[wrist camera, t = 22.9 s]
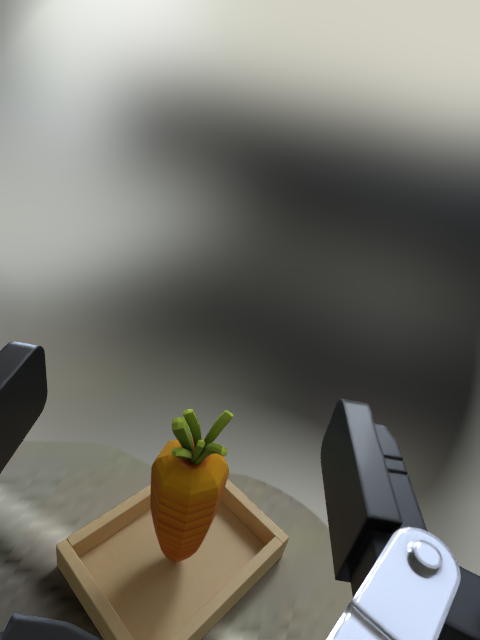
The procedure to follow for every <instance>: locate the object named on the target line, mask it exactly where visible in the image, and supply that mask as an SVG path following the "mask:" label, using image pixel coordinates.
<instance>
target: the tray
mask: <svg viewBox="0 0 480 640" xmlns="http://www.w3.org/2000/svg"><path fill="white" fill-rule="evenodd" d="M150 494H151V485H149V486H148V487H146V488H145V489H143V490H142V491H140V492H138V493H137V494H135V495H134V496H132V497H131V498H129V499H127V500H126V501H124V502H123V503H121V504H120V505H118V506H116V507H115V508H113V509H112V510H110V511H109V512H107V513H105V514H104V515H102V516H101V517H99V518H98V519H96V520H94V521H93V522H91V523H90V524H88V525H87V526H85V527H83V528H82V529H80V530H79V531H77V532H76V533H74V534H72V535H71V536H69V537H68V538H67V539H65V540H63V541H62V542H60V543H59V544H57V545H56V552H57V566H58V568H59V569H60V571H61V572H62V574H63V576H64V577H65V579H66V580H67V582H68V584H69V585H70V587H71V588H72V590H73V592H74V593H75V595H76V596H77V598H78V600H79V601H80V603H81V604H82V606H83V607H84V609H85V611H86V612H87V614H88V615H89V617H90V619H91V620H92V622H93V623H94V625H95V627H96V628H97V630H98V631H99V633H100V635H101V636H102V638H103V639H104V640H201V639H202V638H203V637H204V636H205V635H206V634H207V633H208V632H209V631H210V630H211V629H212V628H213V627H214V626H215V625H216V624H217V623H218V622H219V621H220V620H221V619H222V618H223V617H224V616H225V615H226V614H227V613H228V612H229V611H230V609H231V608H232V607H233V606H234V605H235V604H236V603H237V602H238V601H239V600H240V599H241V598H242V597H243V596H244V595H245V594H246V593H247V592H248V591H249V590H250V589H251V588H252V587H253V586H254V585H255V584H256V583H257V582H258V581H259V579H260V578H261V577H262V576H263V575H264V574H265V573H266V572H267V571H268V570H269V569H270V568H271V567H272V566H273V565H274V564H275V563H276V562H277V561H278V560H279V559H280V558H281V557H282V555H283V552H284V550H285V547H286V544H287V542H288V539H289V537H288V536H287V535H286V534H285V533H284V532H283V531H282V530H281V529H280V528H279V527H278V526H277V525H276V524H275V523H274V522H273V521H272V520H270V519H269V518H268V517H267V516H266V515H265V514H264V513H263V512H262V511H261V510H260V509H259V508H258V507H257V506H256V505H255V504H254V503H253V502H251V501H250V500H249V499H248V498H247V497H246V496H245V495H244V494H243V493H242V492H241V491H240V490H239V489H238V488H237V487H236V486H235V485H234V484H232V483H231V482H230V481H229V480H228V479H227V482H226V485H225V489H224V493H223V496H222V499H221V502H220V505H219V508H218V511H217V513H216V515H215V517H214V519H213V522H212V524H211V526H210V528H209V530H208V532H207V534H206V536H205V538H204V540H203V542H202V544H201V545H200V547H199V549H198V550H197V552H196V553H194V554H193V555H192V556H191V557H189V558H187V559H185V560H183V561H180V562H177V563H175V562H173V561H171V560H169V559H168V558H167V557H165V556H164V554H163V552H162V551H161V548H160V545H159V542H158V539H157V536H156V532H155V528H154V524H153V519H152V513H151V507H150Z"/></svg>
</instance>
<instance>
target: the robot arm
mask: <svg viewBox="0 0 480 640" xmlns="http://www.w3.org/2000/svg"><path fill="white" fill-rule="evenodd" d="M46 398H47V379H46V365H45V353H44V349H43V348H42V347H41V346H37V345H31V344H25V343H19V342H14V341H12V342H9V343H8V344H7V345H6V346H5V347H4V348H3V349H2V350H1V351H0V473H1V472H2V470H3V469H4V467H5V466H6V464H7V463H8V461H9V460H10V458H11V457H12V456H13V454H14V453H15V451H16V450H17V448H18V447H19V445H20V444H21V442H22V441H23V439H24V438H25V436H26V435H27V433H28V432H29V430H30V429H31V427H32V426H33V425H34V423H35V422H36V420H37V419H38V417H39V416H40V414H41V413H42V411H43V409H44V406H45V403H46ZM321 466H322V474H323V483H324V490H325V499H326V507H327V515H328V524H329V532H330V540H331V548H332V556H333V565H334V573H335V580H339V581H345V582H351V587H352V593H353V600H352V601H351V603H350V604H349V605H348V607H347V608H346V610H345V611H344V613H343V615H342V616H341V618H340V619H339V621H338V623H337V624H336V626H335V627H334V629H333V631H332V632H331V634H330V636H329V637H328V639H327V640H480V576H478V575H476V574H474V573H472V572H470V571H468V570H466V569H464V568H462V567H460V566H459V565H458V563H457V561H456V559H455V557H454V556H453V554H452V553H451V551H450V550H449V549H448V548H447V546H446V545H445V544H444V543H443V542H442V541H441V540H439V539H438V538H437V537H435V536H434V535H433V534H431V533H429V532H428V531H427V529H426V526H425V523H424V520H423V517H422V514H421V511H420V508H419V505H418V502H417V499H416V496H415V493H414V490H413V487H412V484H411V481H410V478H409V476H407V469H406V466H405V463H404V462H403V457H402V454H401V451H400V448H399V445H398V442H397V441H396V440H395V438H394V437H393V436H392V434H391V433H390V432H389V431H388V429H387V428H386V427H385V426H383V425H377V424H374V420H373V417H372V413H371V410H370V407H369V405H368V404H367V403H362V402H357V401H351V400H345V399H339V400H338V401H337V403H336V406H335V409H334V411H333V414H332V417H331V419H330V422H329V425H328V427H327V430H326V433H325V435H324V438H323V442H322V447H321ZM0 640H102V639H100V638H98V637H96V636H94V635H92V634H90V633H88V632H86V631H84V630H83V629H81V628H79V627H77V626H75V625H73V624H71V623H69V622H65V621H59V620H52V619H46V618H40V617H34V616H27V615H21V614H15V613H13V614H12V616H11V618H10V620H9V622H8V624H7V627H6V629H5V631H3V632H0Z"/></svg>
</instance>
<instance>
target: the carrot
mask: <svg viewBox="0 0 480 640" xmlns="http://www.w3.org/2000/svg"><path fill="white" fill-rule="evenodd" d="M183 415H184V417H185V418H184V417H177V418H175V419H173V421H172V430H173V433H174V435H175V436H176V438H177V440H173V441H169V442H168V443H167V444H166V446H165V447H164V448H163V450H162V451H161V453H160V454H159V455H158V457H157V458H156V460H155V462H154V463H153V465H152V472H151V494H150V507H151V513H152V519H153V524H154V528H155V532H156V536H157V539H158V542H159V545H160V548H161V551H162V552H163V554H164V556H165V557H167V558H168V559H169V560H171V561H173V562H175V563H177V562H180V561H183V560H185V559H187V558H189V557H191V556H192V555H193V554H194V553H196V552H197V550H198V549H199V547H200V545H201V544H202V542H203V540H204V538H205V536H206V534H207V532H208V530H209V528H210V526H211V524H212V522H213V519H214V517H215V515H216V513H217V511H218V508H219V505H220V502H221V499H222V496H223V493H224V489H225V485H226V482H227V478H228V475H229V469H228V465H227V463H226V461H225V459H224V457H223V456H226V454H227V449H226V448H225V447H223V446H222V445H220V444H217V443H213V441H214V440H215V439H216V437H217V436H218V435H219V433H220V432H221V431H222V430H223V428H224V427H225V426H226V425H227V424H228V423H229V421H230V420H231V419H232V417H233V414H232V413H230V412H228V411H225V412H224V413H222V414H221V415H220V417H219V418H218V419H217V420H216V421H215V423H214V424H213V426H212V428H211V429H210V431H209V433H208V434H207V436H206V438H205V439H204V440H203V439H201V430H200V425H199V422H198V419H197V417H196V415H195V413H194V412H193V410H192V409H188V410H185V411H184V412H183ZM187 424H188V425H189V427H190V430H191V433H192V436H191V434H190V430H189V427H188V425H187Z"/></svg>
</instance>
